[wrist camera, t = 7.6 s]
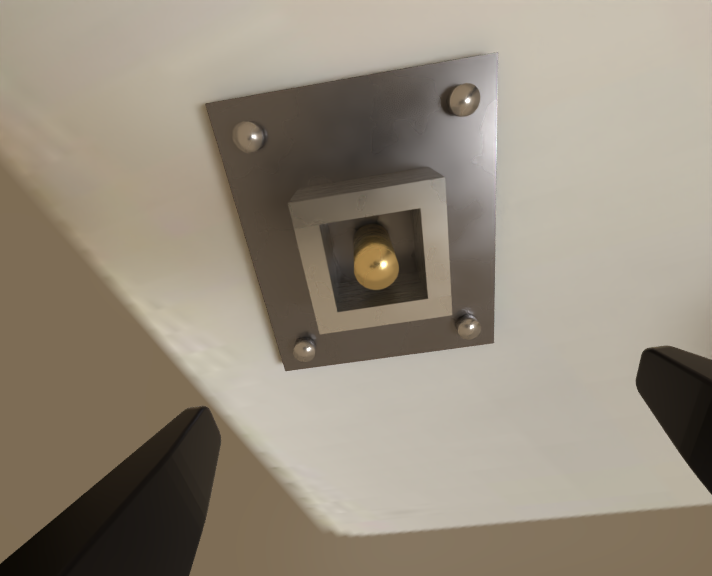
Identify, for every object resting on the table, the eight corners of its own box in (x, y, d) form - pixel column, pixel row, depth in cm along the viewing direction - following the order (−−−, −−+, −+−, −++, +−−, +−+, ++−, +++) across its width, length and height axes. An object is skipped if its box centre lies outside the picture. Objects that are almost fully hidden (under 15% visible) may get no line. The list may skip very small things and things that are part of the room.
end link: (429, 166, 16) (445, 177, 13) (437, 286, 19) (452, 315, 16) (298, 189, 16) (287, 203, 14) (324, 303, 19) (319, 334, 16)
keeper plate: (491, 55, 15) (540, 34, 11) (488, 335, 21) (520, 385, 17) (211, 104, 16) (166, 100, 12) (287, 362, 22) (274, 416, 18)
